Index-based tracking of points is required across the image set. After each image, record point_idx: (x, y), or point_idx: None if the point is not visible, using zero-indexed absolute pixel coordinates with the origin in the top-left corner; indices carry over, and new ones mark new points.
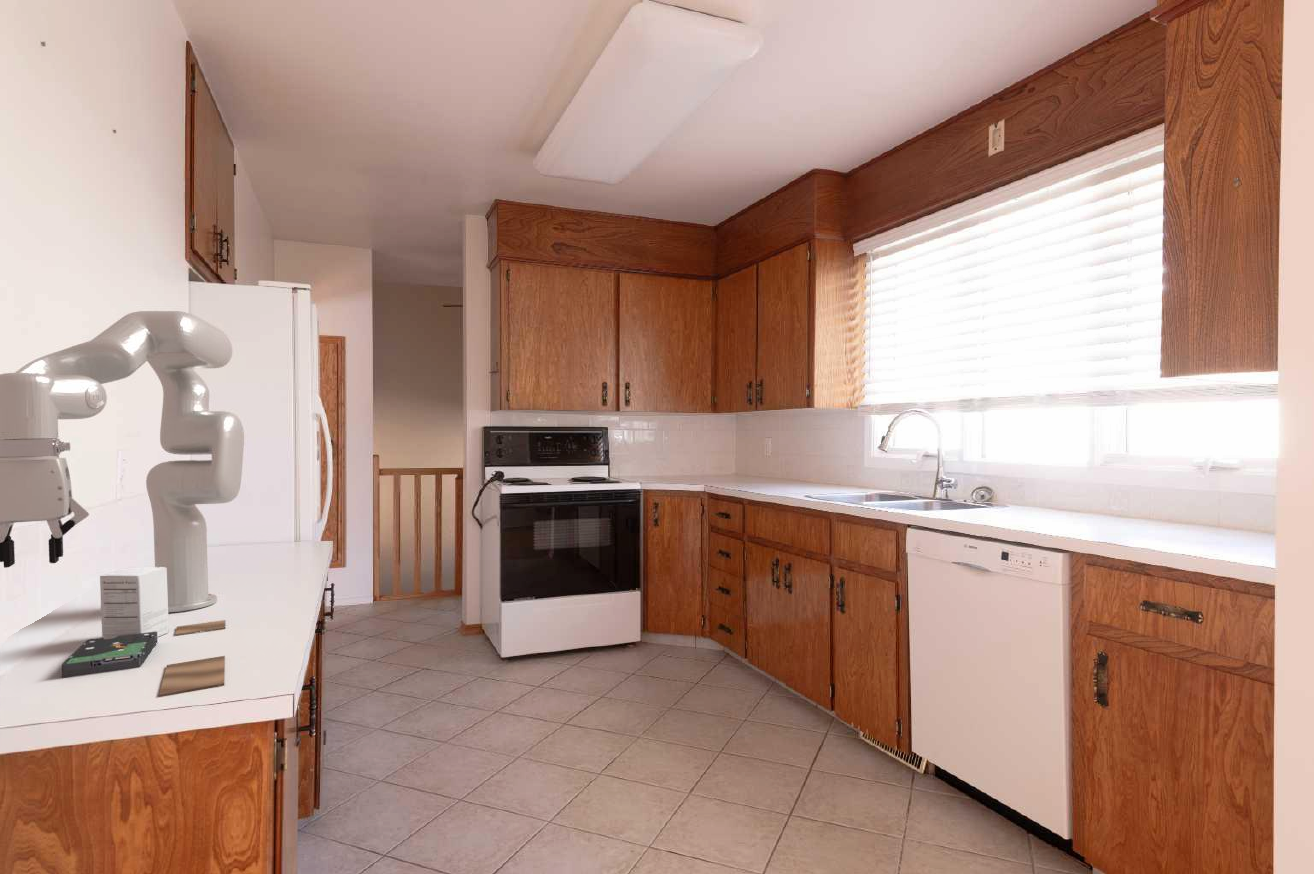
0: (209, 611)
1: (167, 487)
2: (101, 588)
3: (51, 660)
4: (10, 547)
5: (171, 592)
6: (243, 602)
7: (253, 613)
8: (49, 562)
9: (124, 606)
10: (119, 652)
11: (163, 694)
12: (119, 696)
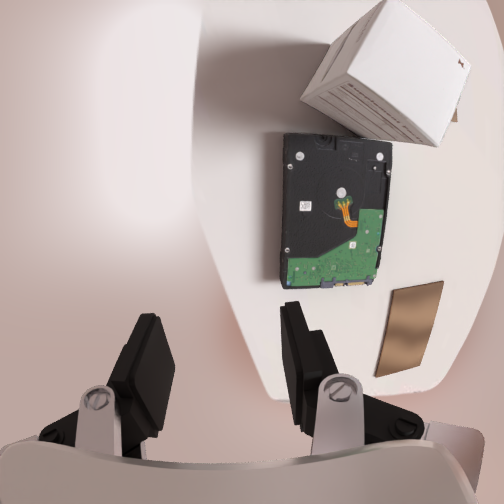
0: None
1: None
2: (336, 81)
3: (237, 165)
4: (159, 405)
5: None
6: None
7: (472, 54)
8: (282, 358)
9: (368, 122)
10: (351, 260)
11: (378, 376)
12: (347, 366)
